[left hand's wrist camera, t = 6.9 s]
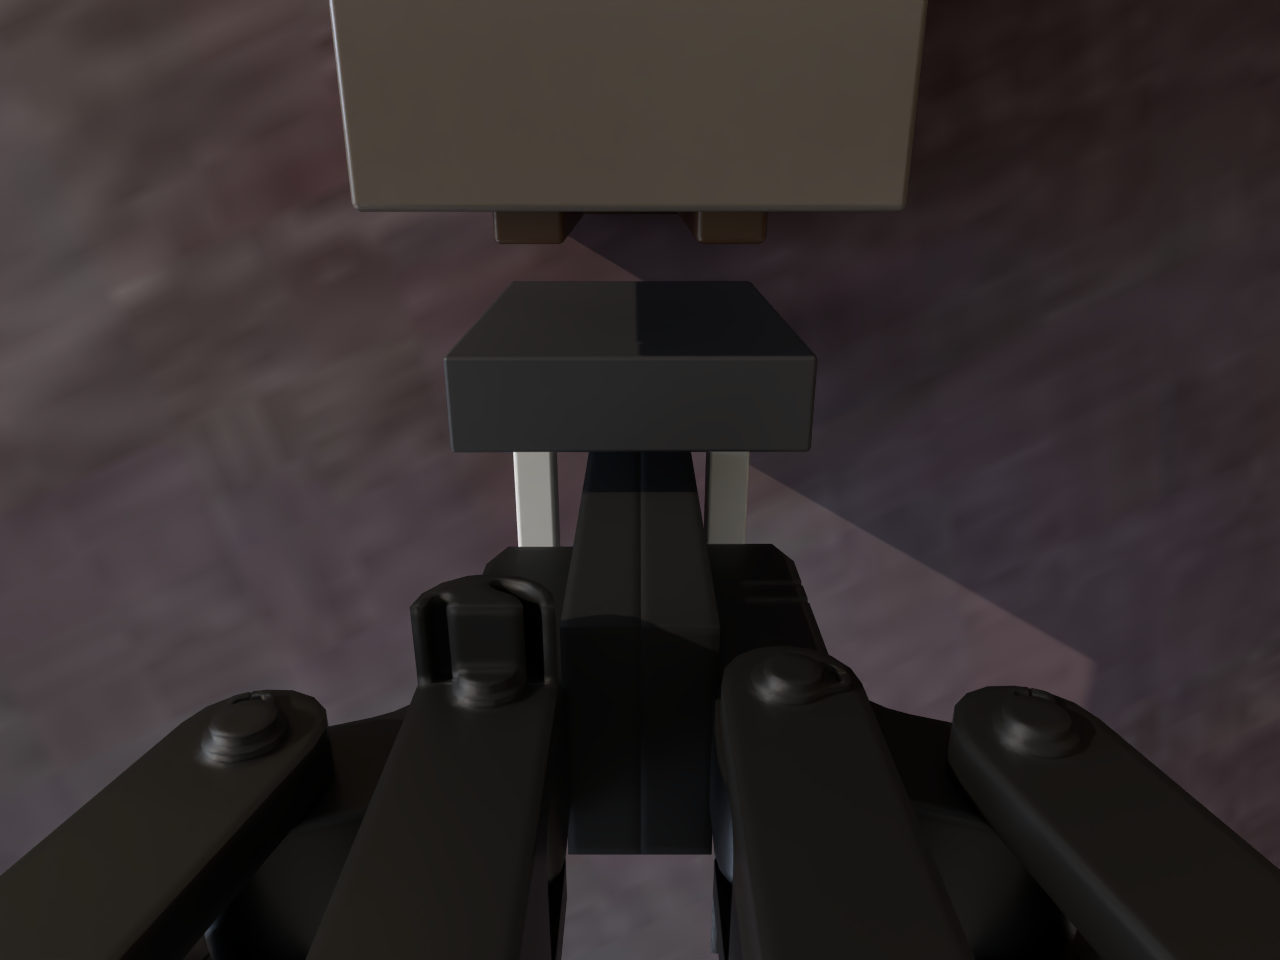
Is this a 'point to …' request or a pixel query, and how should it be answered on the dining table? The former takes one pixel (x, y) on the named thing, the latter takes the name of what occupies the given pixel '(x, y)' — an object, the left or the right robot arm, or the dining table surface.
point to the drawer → (630, 375)
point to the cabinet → (628, 104)
